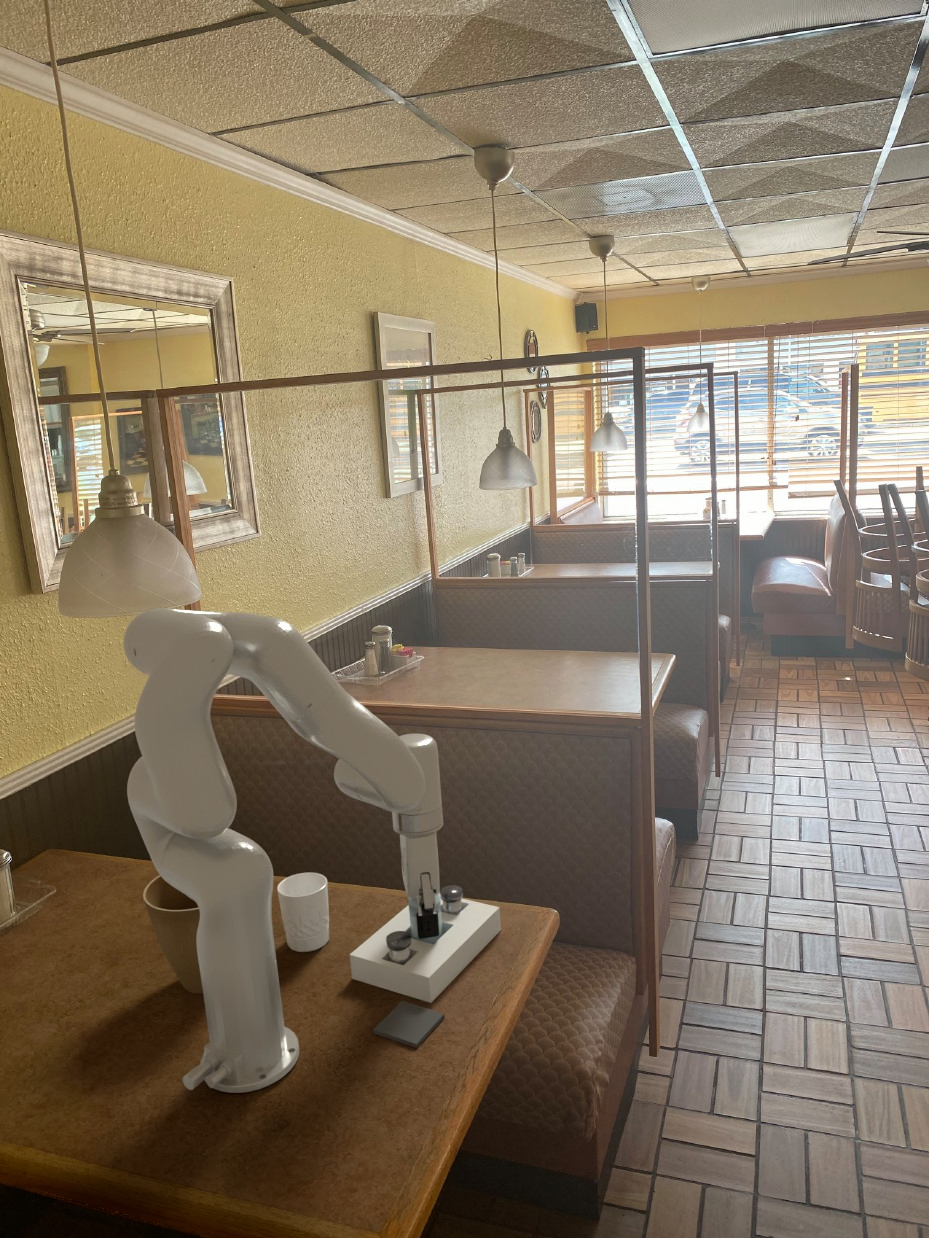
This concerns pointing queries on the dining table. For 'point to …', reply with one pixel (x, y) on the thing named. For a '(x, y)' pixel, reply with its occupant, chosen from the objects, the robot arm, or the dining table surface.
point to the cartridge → (413, 919)
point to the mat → (409, 1024)
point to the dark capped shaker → (451, 899)
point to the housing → (427, 952)
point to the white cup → (305, 911)
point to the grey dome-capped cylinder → (399, 947)
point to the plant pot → (175, 930)
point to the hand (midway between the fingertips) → (426, 925)
